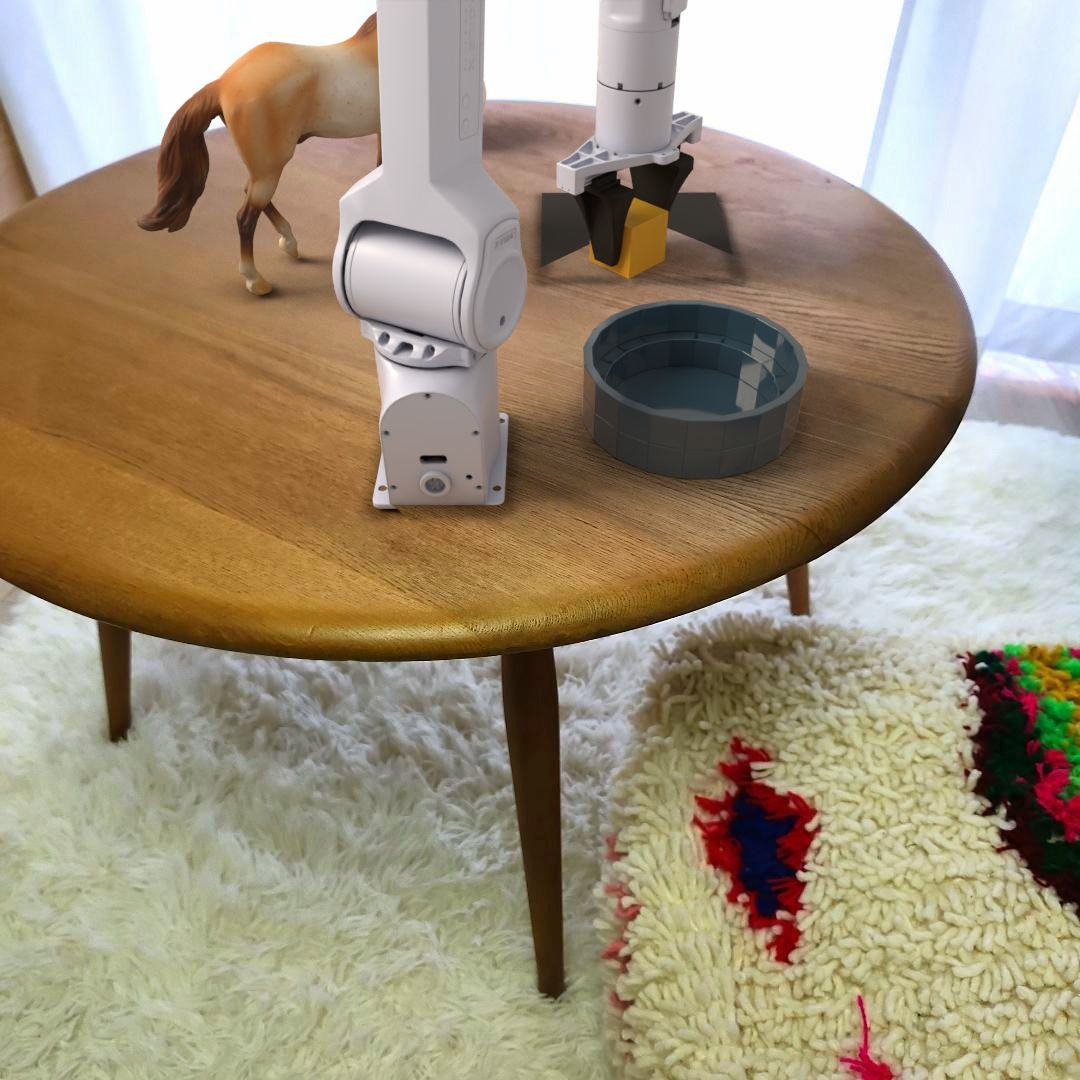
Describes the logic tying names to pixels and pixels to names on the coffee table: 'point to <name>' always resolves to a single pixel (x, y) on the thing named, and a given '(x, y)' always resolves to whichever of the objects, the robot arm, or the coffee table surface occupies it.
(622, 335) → the bowl
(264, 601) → the coffee table surface
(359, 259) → the robot arm
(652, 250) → the block
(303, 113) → the horse figurine
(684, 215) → the dark grey flat plate
